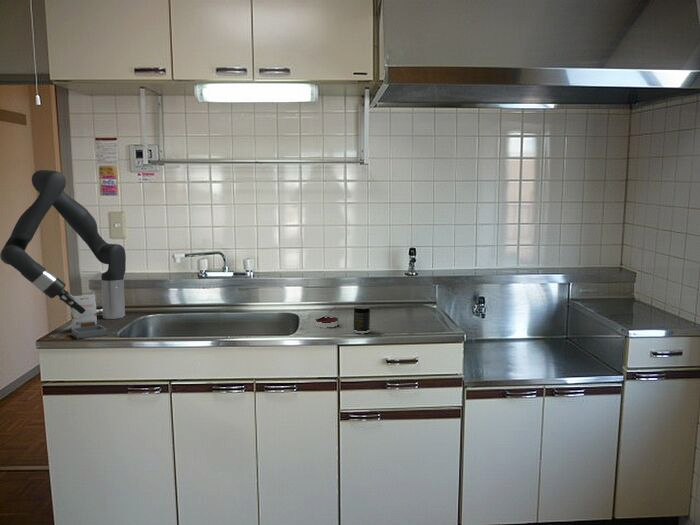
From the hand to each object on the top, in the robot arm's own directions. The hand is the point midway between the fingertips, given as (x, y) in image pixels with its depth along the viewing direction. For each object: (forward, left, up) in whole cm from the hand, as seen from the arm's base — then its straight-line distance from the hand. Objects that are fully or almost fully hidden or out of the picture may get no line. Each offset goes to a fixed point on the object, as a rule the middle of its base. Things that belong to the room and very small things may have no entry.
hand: (83, 310), depth 213 cm
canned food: (+54, +82, -9) cm, 99 cm away
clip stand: (0, 0, -8) cm, 8 cm away
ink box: (0, 0, -9) cm, 9 cm away
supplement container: (+73, +85, -9) cm, 112 cm away
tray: (+9, -1, -8) cm, 13 cm away
